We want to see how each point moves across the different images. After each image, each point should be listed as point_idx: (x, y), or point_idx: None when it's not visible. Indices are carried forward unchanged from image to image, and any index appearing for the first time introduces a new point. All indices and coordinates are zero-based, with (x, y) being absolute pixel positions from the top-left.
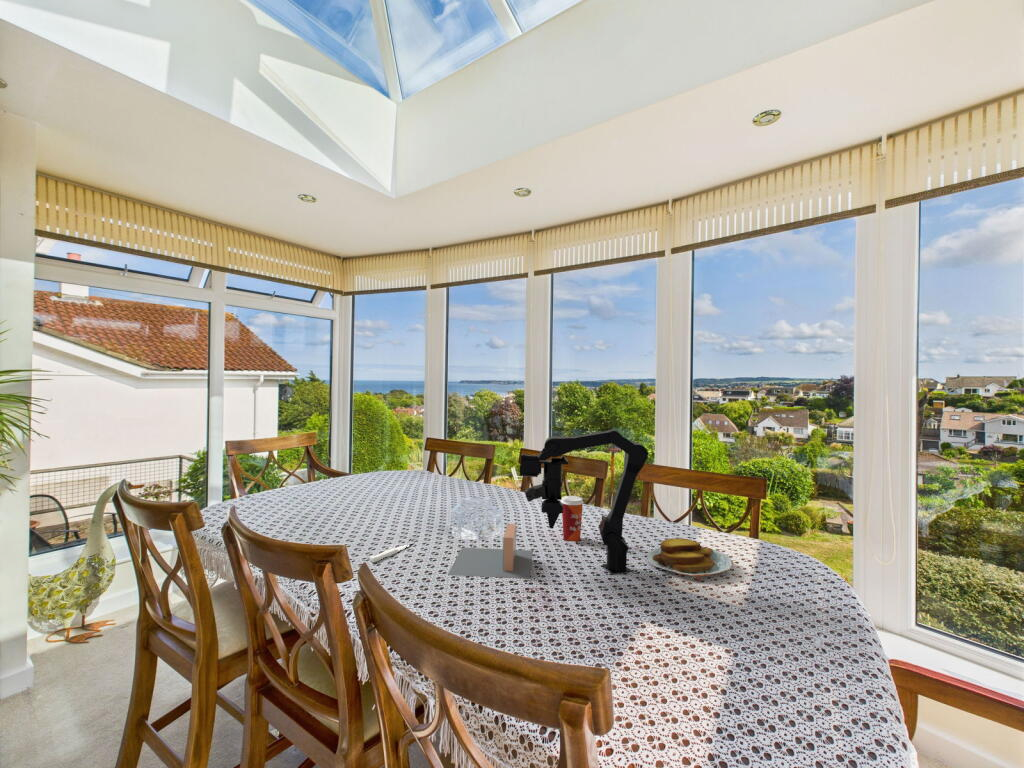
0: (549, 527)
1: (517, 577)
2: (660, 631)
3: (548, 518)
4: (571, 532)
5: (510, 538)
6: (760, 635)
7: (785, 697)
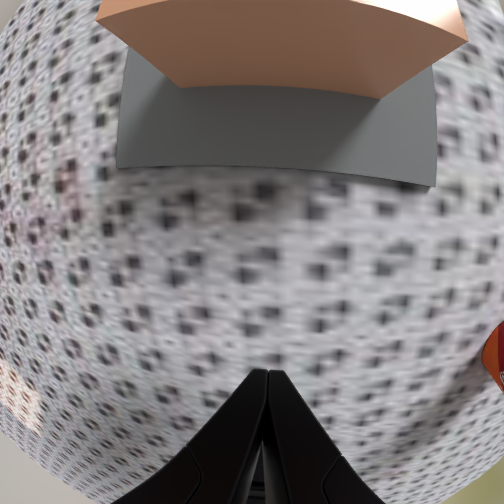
0: (252, 371)
1: (123, 117)
2: (30, 399)
3: (184, 452)
4: (502, 362)
5: (104, 7)
6: (80, 473)
7: (7, 421)
